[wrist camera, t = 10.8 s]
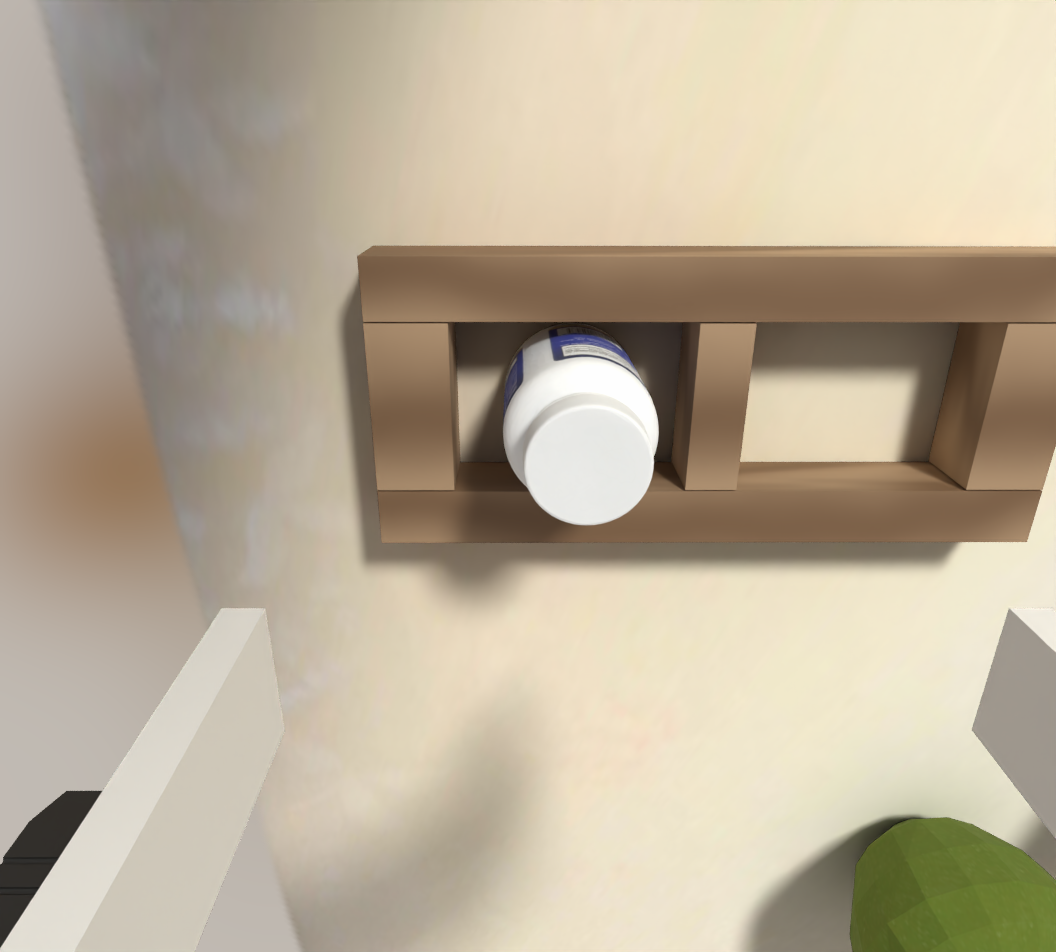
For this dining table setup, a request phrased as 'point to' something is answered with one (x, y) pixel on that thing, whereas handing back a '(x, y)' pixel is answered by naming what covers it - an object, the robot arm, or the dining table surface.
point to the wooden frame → (720, 388)
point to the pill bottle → (579, 424)
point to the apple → (950, 893)
